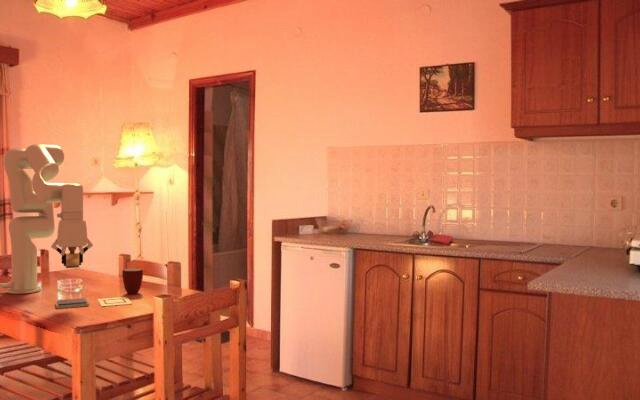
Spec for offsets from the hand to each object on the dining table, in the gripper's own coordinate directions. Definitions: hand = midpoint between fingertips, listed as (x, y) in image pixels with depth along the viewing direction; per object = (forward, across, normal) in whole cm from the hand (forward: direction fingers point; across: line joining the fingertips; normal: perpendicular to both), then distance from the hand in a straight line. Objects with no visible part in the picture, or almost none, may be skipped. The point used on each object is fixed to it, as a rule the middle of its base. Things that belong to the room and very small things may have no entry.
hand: (72, 264), depth 211 cm
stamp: (+1, 0, 0) cm, 1 cm away
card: (+15, +15, -1) cm, 21 cm away
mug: (+15, +24, +15) cm, 32 cm away
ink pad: (+15, 0, 0) cm, 15 cm away
